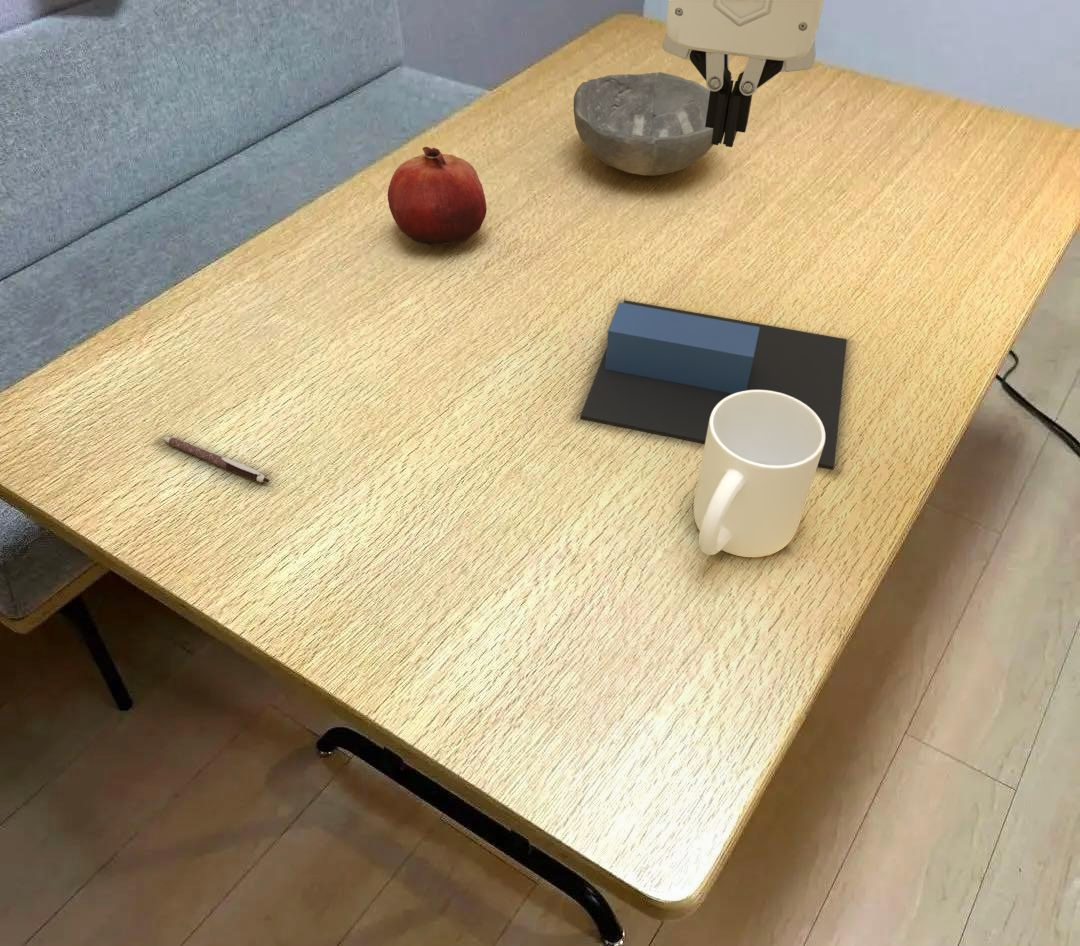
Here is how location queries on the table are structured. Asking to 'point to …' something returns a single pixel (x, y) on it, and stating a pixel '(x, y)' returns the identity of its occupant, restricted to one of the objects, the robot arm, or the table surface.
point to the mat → (684, 411)
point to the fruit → (437, 198)
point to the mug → (756, 472)
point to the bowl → (644, 121)
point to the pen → (218, 460)
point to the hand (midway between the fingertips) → (724, 137)
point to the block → (681, 348)
